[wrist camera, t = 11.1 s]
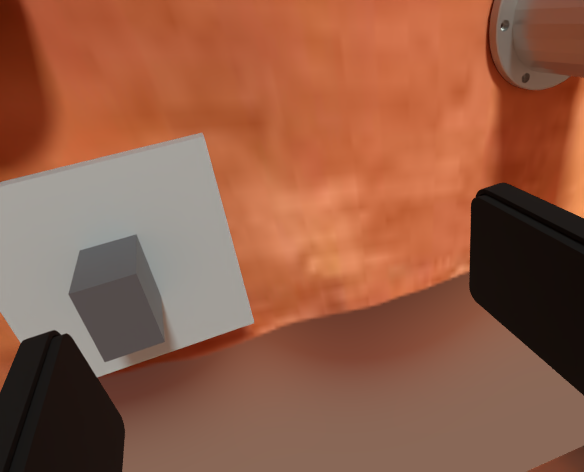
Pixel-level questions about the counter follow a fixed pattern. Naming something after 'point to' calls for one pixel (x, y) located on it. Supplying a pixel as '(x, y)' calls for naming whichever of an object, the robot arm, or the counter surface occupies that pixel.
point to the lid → (121, 254)
